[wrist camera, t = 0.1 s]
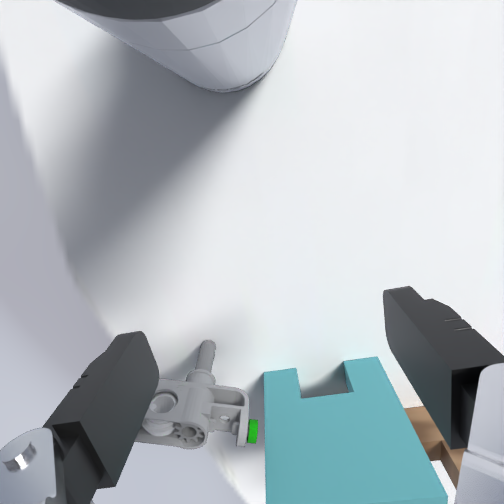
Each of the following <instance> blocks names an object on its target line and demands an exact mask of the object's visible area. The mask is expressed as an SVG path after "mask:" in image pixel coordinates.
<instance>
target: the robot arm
mask: <svg viewBox="0 0 504 504" xmlns="http://www.w3.org/2000/svg"><path fill="white" fill-rule="evenodd" d="M54 1H55V2H57V3H59V4H60V5H62V6H64V7H65V8H67V9H69V10H70V11H72V12H74V13H75V14H77V15H79V16H80V17H82V18H84V19H85V20H87V21H89V22H90V23H92V24H94V25H95V26H97V27H99V28H101V29H103V30H104V31H106V32H108V33H109V34H111V35H113V36H114V37H116V38H118V39H119V40H121V41H123V42H124V43H126V44H128V45H129V46H131V47H133V48H134V49H136V50H138V51H139V52H141V53H143V54H144V55H146V56H148V57H149V58H151V59H153V60H154V61H156V62H158V63H159V64H161V65H163V66H164V67H166V68H168V69H169V70H171V71H173V72H174V73H176V74H178V75H179V76H181V77H183V78H184V79H186V80H188V81H190V82H191V83H193V84H194V85H196V86H198V87H201V88H203V89H206V90H209V91H215V92H222V93H224V92H233V91H238V90H241V89H243V88H246V87H249V86H250V85H252V84H253V83H255V82H256V81H258V80H260V79H261V78H262V77H263V76H264V75H265V74H266V73H267V72H268V71H269V70H270V69H271V67H272V65H273V64H274V62H275V61H276V59H277V58H278V56H279V54H280V52H281V49H282V47H283V44H284V42H285V39H286V35H287V32H288V29H289V26H290V23H291V20H292V16H293V13H294V10H295V6H296V3H297V0H54ZM383 304H384V317H385V330H386V337H387V341H388V344H389V347H390V349H391V351H392V353H393V355H394V356H395V358H396V360H397V361H398V363H399V365H400V366H401V368H402V370H403V371H404V373H405V375H406V376H407V378H408V380H409V381H410V383H411V385H412V386H413V388H414V390H415V391H416V393H417V395H418V396H419V398H420V400H421V401H422V403H423V405H424V406H425V408H426V410H427V411H428V413H429V415H430V416H431V418H432V420H433V421H434V423H435V425H436V426H437V428H438V430H439V431H440V433H441V435H442V436H443V438H444V440H445V441H446V443H447V445H448V446H449V448H450V450H453V449H462V448H467V449H465V450H464V454H463V458H462V463H461V469H460V475H459V480H458V486H457V492H456V497H455V503H454V504H504V356H503V355H502V354H501V353H500V352H499V351H498V350H497V349H496V348H494V347H493V346H492V345H491V344H490V343H489V342H488V341H487V340H486V339H485V338H483V337H482V336H481V335H480V334H479V333H478V332H477V331H476V330H475V329H472V328H471V326H470V325H469V324H468V323H467V322H466V321H465V320H464V319H463V320H462V319H461V317H460V316H459V315H458V314H457V313H456V312H455V311H454V310H453V309H452V308H450V307H449V306H447V305H445V304H443V303H441V302H438V301H436V300H434V299H427V300H424V299H423V298H422V297H421V296H420V295H419V294H418V293H417V292H416V291H415V290H414V289H413V288H412V287H410V286H406V287H400V288H394V289H388V290H384V292H383ZM158 383H159V370H158V366H157V364H156V361H155V359H154V356H153V353H152V351H151V348H150V346H149V343H148V341H147V338H146V336H145V334H144V333H143V332H142V331H137V332H131V333H125V334H120V335H117V336H116V337H115V339H114V340H113V342H112V343H111V344H110V346H109V347H108V348H107V350H106V351H105V352H104V353H102V354H101V355H100V356H99V357H98V358H96V359H95V360H94V361H93V362H92V363H90V365H89V366H88V368H87V369H86V370H85V371H84V373H83V374H82V375H81V378H80V379H78V381H77V382H76V383H75V385H74V386H73V389H71V390H70V391H69V392H68V394H67V395H66V396H65V398H64V399H63V400H62V402H61V403H60V404H59V406H58V407H57V408H56V410H55V411H54V413H53V414H52V415H51V416H50V418H49V419H48V420H47V422H46V423H45V424H44V425H43V427H42V428H37V429H33V430H30V431H28V432H26V433H24V434H22V435H20V436H18V437H16V438H15V439H13V440H12V441H10V442H9V443H8V444H7V445H6V446H4V447H3V448H2V449H1V450H0V504H94V502H93V501H92V498H93V496H94V494H95V492H96V489H101V488H110V487H115V486H116V484H117V482H118V480H119V477H120V475H121V472H122V470H123V467H124V465H125V463H126V460H127V458H128V456H129V453H130V451H131V449H132V446H133V443H134V441H135V439H136V437H137V434H138V432H139V429H140V427H141V425H142V422H143V420H144V418H145V415H146V413H147V410H148V408H149V406H150V403H151V401H152V398H153V396H154V394H155V391H156V389H157V386H158Z"/></svg>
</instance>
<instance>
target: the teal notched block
mask: <svg viewBox="0 0 504 504" xmlns="http://www.w3.org/2000/svg"><path fill="white" fill-rule="evenodd" d="M343 362H344V371H345V379H346V384H347V387H348V390H349V393H342V394H334V395H326V396H319V397H311V398H303V399H302V398H301V391H300V385H299V380H298V375H297V370H296V368H292V369H285V370H278V371H270V372H264V413H265V477H266V504H447V502H448V495H447V493H446V491H445V489H444V487H443V486H442V484H441V482H440V480H439V478H438V476H437V474H436V472H435V470H434V468H433V466H432V464H431V462H430V460H429V458H428V456H427V454H426V452H425V450H424V448H423V446H422V444H421V442H420V440H419V438H418V436H417V434H416V432H415V430H414V428H413V426H412V424H411V422H410V420H409V418H408V416H407V414H406V412H405V410H404V408H403V406H402V404H401V402H400V400H399V398H398V396H397V394H396V392H395V390H394V388H393V386H392V384H391V382H390V381H389V379H388V377H387V375H386V373H385V371H384V369H383V367H382V365H381V363H380V361H379V359H378V357H371V358H363V359H356V360H349V361H343Z"/></svg>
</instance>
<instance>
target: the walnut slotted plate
mask: <svg viewBox="0 0 504 504" xmlns="http://www.w3.org/2000/svg"><path fill="white" fill-rule="evenodd" d="M404 410H405V412H406V414H407V416H408V418H409V420H410V422H411V424H412V426H413V428H414V430H415V432H416V434H417V436H418V438H419V440H420V442H421V444H422V446H423V448H424V450H425V452H426V454H427V456H428V458H429V460H430V461H436V460H441V462H442V464H443V466H444V468H445V470H446V471H447V473H448V475H449V477H450V479H451V481H452V483H453V484H454V486H455V488H456V490H457V486H458V480H459V475H460V469H461V463H462V458H463V454H464V450H465V449H467V448H462V449H453V450H450V448H449V446H448V445H447V443H446V441H445V440H444V438H443V436H442V435H441V433H440V431H439V430H438V428H437V426H436V425H435V423H434V421H433V420H432V418H431V416H430V415H429V413H428V411H427V410H426V408H425V406H422V407H414V408H406V409H404Z"/></svg>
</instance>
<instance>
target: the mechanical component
mask: <svg viewBox="0 0 504 504" xmlns="http://www.w3.org/2000/svg"><path fill="white" fill-rule="evenodd" d="M200 348H201V349H200V352H199V355H198V360H197V364H196V367H195V370H193V371H191V372H190V373H189V374H188V375H187V377H186V381H178V380H170V379H159V383H158V386H157V389H156V391H155V394H154V396H153V398H152V401H151V403H150V406H149V408H148V410H147V413H146V415H145V418H144V420H143V422H142V425H141V427H140V429H139V432H138V434H137V437H136V439H135V441H134V442H142V443H151V444H159V445H168V446H176V447H180V448H183V449H197V448H200V447H202V446H203V445H204V444H206V440H207V437H208V432H214V430H217V431H226V432H232V434H233V435H237V439H236V446H239V447H245V443H246V437H247V443H256V440H257V432H258V420H252V419H249V423H248V417H249V398H248V395H247V394H246V393H245V392H244V391H243V390H241V389H239V388H235V387H227V386H219V385H215V378H214V376H213V375H212V374H211V369H212V364H213V359H214V356H215V350H216V346H215V343H214V342H213V341H211V340H205V341H203V343H202V345H201V347H200ZM221 416H227V417H229V419H228V420H222V419H221V418H220V417H221Z"/></svg>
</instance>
